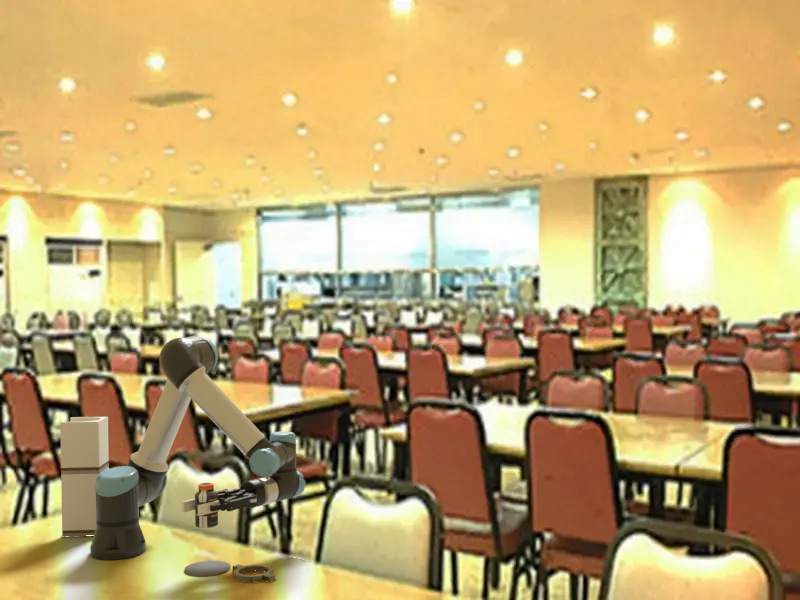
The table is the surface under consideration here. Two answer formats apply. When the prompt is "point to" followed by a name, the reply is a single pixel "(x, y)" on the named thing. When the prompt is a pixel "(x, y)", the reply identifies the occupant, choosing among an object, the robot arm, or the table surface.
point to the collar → (250, 578)
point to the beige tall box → (82, 471)
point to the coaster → (207, 568)
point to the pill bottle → (202, 497)
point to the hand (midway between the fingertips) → (190, 508)
